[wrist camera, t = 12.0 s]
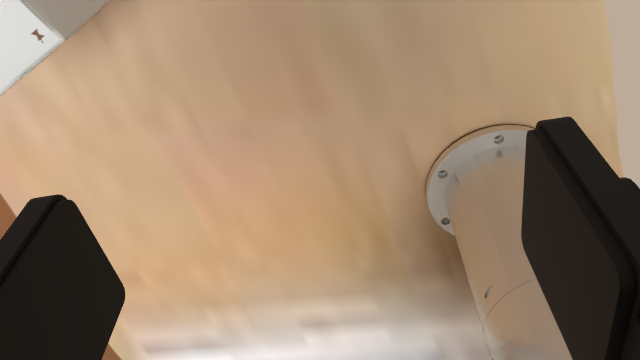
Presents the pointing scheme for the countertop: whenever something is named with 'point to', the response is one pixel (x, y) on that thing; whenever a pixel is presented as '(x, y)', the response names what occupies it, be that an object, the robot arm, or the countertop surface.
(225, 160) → the countertop surface
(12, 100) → the countertop surface
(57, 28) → the supplement box
